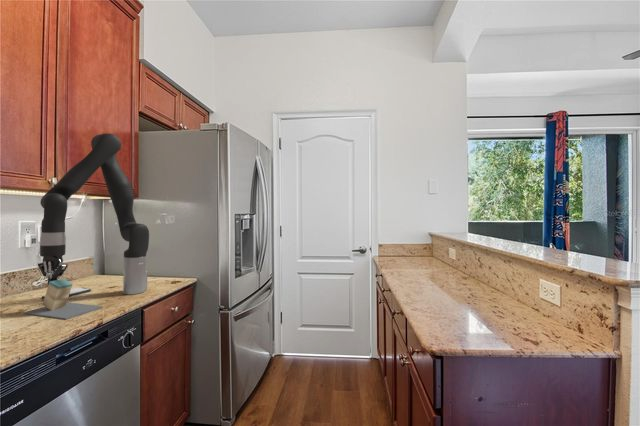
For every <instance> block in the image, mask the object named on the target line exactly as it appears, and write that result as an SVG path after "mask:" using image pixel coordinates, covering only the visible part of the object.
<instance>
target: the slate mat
mask: <svg viewBox="0 0 640 426" xmlns="http://www.w3.org/2000/svg"><path fill="white" fill-rule="evenodd" d="M103 308H104V306H103V305H102V306H101V305H93V304H86V303H85V304H84V303H79V302H77V303H76V302H70V301H69V302H68V301H67V303H66V306H65V307H62V308H59V309H55V310H52V311H51V310H50V309H48V308H46V307H45V306H42V307H39V308H35V309H29V310H27V311H22V314H23V315H27V316H37V317H38V316H39V317H44V318H52V319H59V320H65V319H66V320H69V319H72V317H73V318H76V317H78V316H81V315H84V314H88V313H90V312H94V311H96V310H100V309H103ZM75 316H76V317H75Z"/></svg>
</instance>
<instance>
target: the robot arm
mask: <svg viewBox="0 0 640 426" xmlns="http://www.w3.org/2000/svg"><path fill="white" fill-rule="evenodd" d="M90 143H91V144H90V145H91V151H89V153H88V154H87V155H86V156H85V157H84V158H82V159H81V160H80V161H79V162H77V163H76V164H75V165H73V166H72V167H71V168H70V169H69V170H68V171H67V172H65V174H64V175H63V176H61V179H59V181H58V182H57V183H56V184H55V185H54V186H53V187H52V188H50V189H49V190H48V191H47V192H46V193H44V195H43V196H42V197H41V198H40V202H39V203H40V206H41V207H42V208H43V218H42V220H41V226H40V230H41V231H40V236H39V237H40V238H39V239H40V240H39V256H40V257H42V261H41V262H39V263H38V264H37V266H38V269H39V271H40V272H41V275H42V276H43V277H46V279H47V286H48V285H49V282H50V281H55V280H58V278H59V277H62V276H63V274H64V273H65V272H66V270H67V269H68V264H67V263H66V264H65V263H64V258H63V256H65V255H66V243H67V242H66V240H67V237H66V236H67V235H66V217H67V216H66V215H67V211H68V200H69V199H70V198H71V197H72V196H73V195H74V194H76V193H77V192H79V191H80V189H81V188H82V187H83V186H84V185H85V184H86V182H88V180H89V179H90V178H91V177H92V176H93V175H94V174H95V172H96V171H98V170H99V168H100V169H101V171H102V176H103V179H104V182H105V185H106V189H107V191H108V195H109V197H110V200H111V203H112V206H113V208H114V212H115V214H116V217H117V218H116V219H117V222H118V228H119V233H120V235H121V237H122V239H123V240H124V241H126V242H128V243H129V244H128V248H127V249H125V250H124V252H123V275H122V276H123V278H122V279H123V281H122V283H123V284H122V293H123V295H124V294H125V295H138V294H143V293H145V292H146V291H148V270H147V252H148V251H149V243H150V241H149V240H150V231H149V228H148V226H147V225H146V224H144V223H143V224H142V223H137V221H136V218H135V216H134V211H133V207H134V199H135V196H134V191H133V188H132V185H131V182H130V180H129V179H128V176H127V175H126V174H125V173H124V171H123V169H122V167H121V166H120V164H119V161H118V159H117V155H116V154H117V153H118V152H120V150H121V148H122V141H121V139H120V138H119V137H118V136H117V135H115V134H113V133H107V132H106V133H100V134H96V135H94V136H93V137H92V139H91V142H90Z"/></svg>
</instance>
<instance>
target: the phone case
mask: <svg viewBox="0 0 640 426" xmlns="http://www.w3.org/2000/svg"><path fill="white" fill-rule="evenodd" d="M91 291H92V289H91V288H87V287H81V286H80V287H75V288H71V291H70V294H69V297H73V296H78V295H82V294H85V293H90V292H91ZM45 295H46V294H44V295H42V296H41V299H42V300H44V298H45ZM69 297H68V298H69Z"/></svg>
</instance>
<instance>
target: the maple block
mask: <svg viewBox="0 0 640 426" xmlns="http://www.w3.org/2000/svg"><path fill="white" fill-rule="evenodd" d="M72 288H73V283H72V282H70V281H68V280H67V279H64V278H60V279H57V280H55V281H50V282H49V285H48V284H47V289H46V293H45V294H44V295H45V298H44V299H43V302H42V307H46V308H48V309H50V310H51V311H52V310H55V309H59V308H62V307H65V306H66V303H67V302H68V300H69V294H70V291H71V289H72Z"/></svg>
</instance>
